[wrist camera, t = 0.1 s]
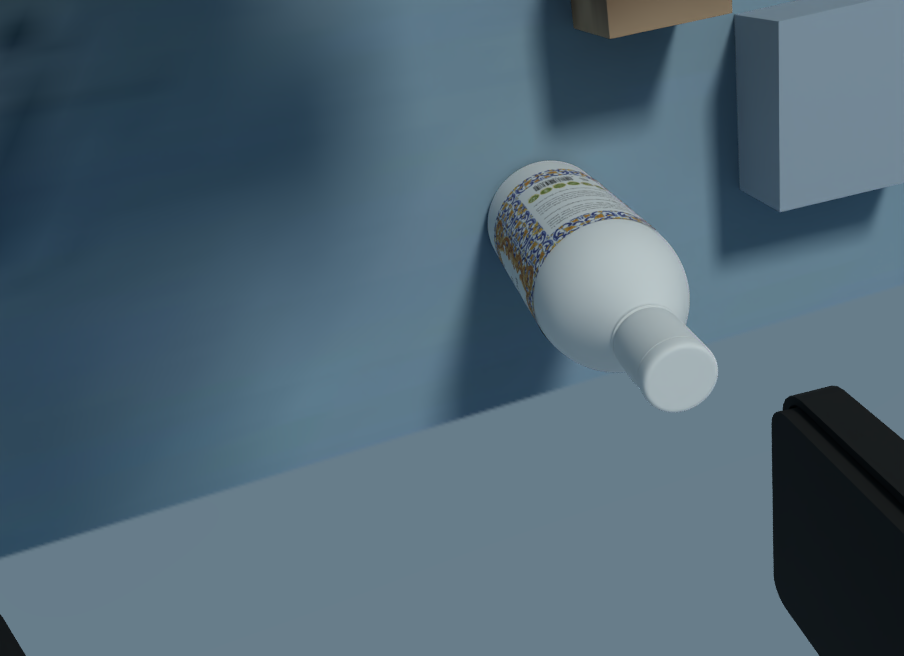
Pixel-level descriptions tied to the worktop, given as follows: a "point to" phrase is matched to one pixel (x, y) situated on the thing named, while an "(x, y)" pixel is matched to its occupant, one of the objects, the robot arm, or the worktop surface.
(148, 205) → the worktop surface
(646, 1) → the walnut cube
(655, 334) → the bath foam
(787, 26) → the base block
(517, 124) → the worktop surface
